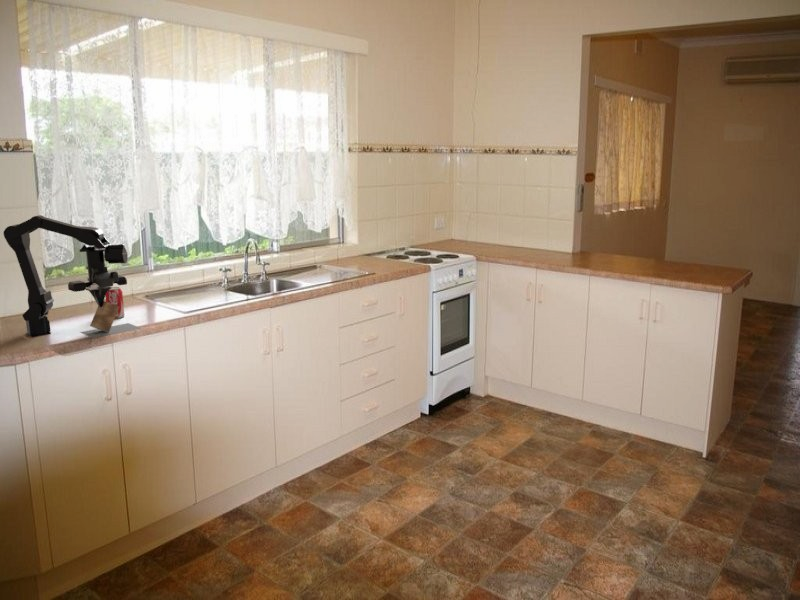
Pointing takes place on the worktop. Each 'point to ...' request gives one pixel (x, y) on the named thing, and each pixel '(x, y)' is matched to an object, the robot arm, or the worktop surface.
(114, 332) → the mat
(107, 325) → the walnut block
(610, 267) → the worktop surface
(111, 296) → the beverage can
